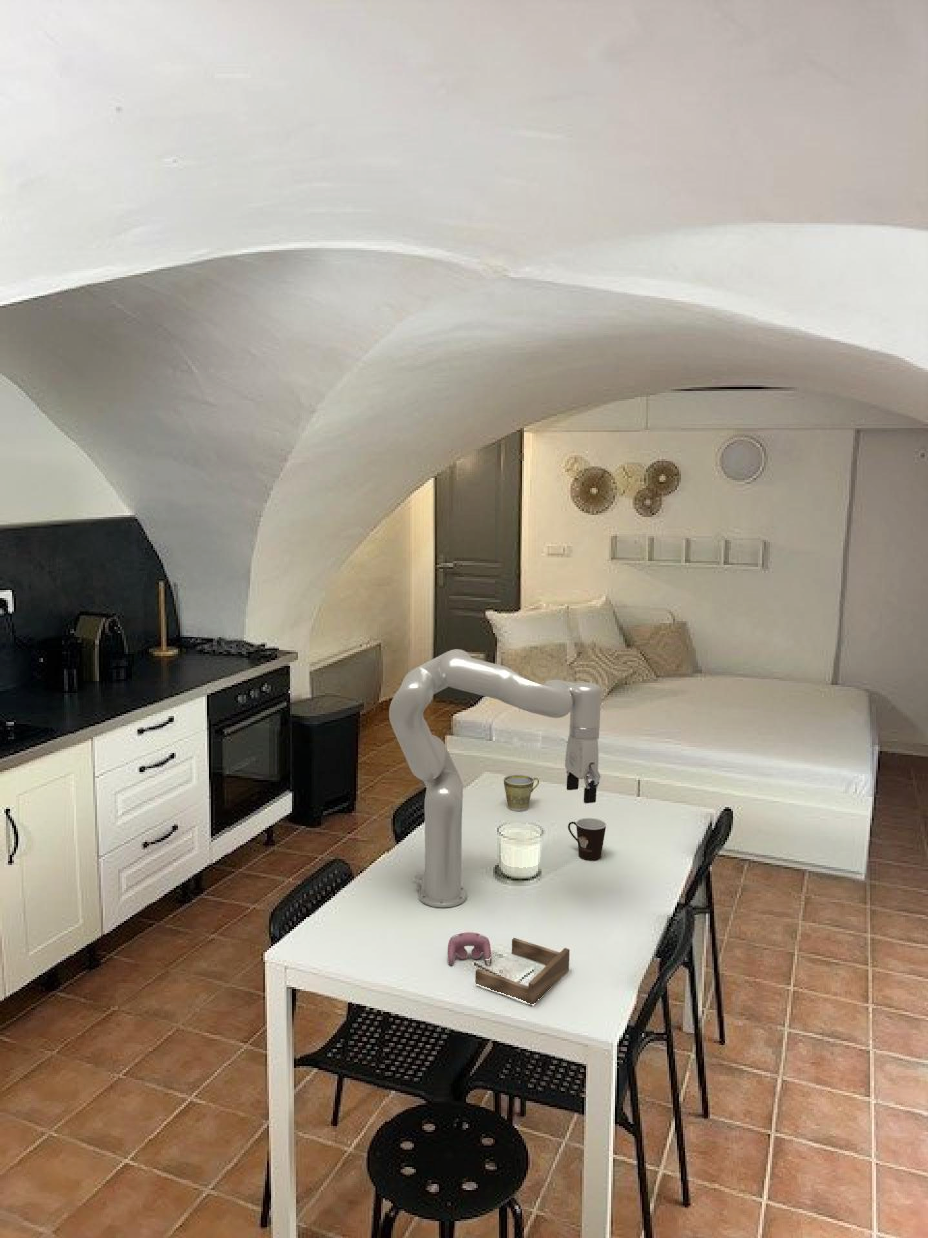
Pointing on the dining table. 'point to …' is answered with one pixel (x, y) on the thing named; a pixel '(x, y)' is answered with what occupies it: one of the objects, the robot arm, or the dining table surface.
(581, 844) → the coffee mug
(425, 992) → the dining table surface
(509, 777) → the ceramic cup
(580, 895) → the dining table surface
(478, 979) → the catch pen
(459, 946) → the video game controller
